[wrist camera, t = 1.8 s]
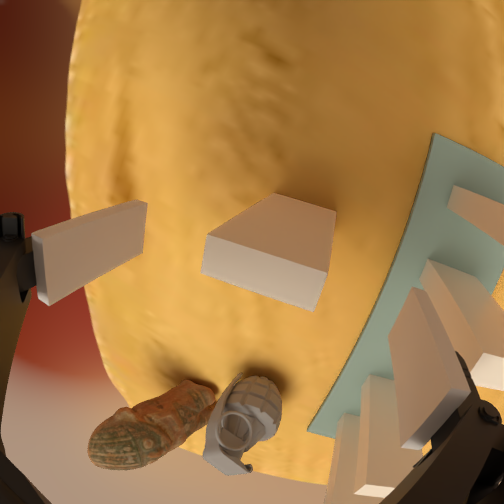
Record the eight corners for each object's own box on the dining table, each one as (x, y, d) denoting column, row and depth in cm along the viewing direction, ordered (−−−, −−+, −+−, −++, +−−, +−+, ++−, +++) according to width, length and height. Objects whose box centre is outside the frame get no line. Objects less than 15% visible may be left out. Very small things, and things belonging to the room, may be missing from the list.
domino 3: (369, 374, 25) (365, 484, 14) (413, 385, 24) (424, 489, 13) (361, 386, 26) (353, 494, 15) (404, 397, 25) (410, 499, 14)
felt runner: (432, 133, 18) (435, 133, 17) (528, 183, 16) (532, 184, 15) (307, 427, 30) (306, 431, 30) (382, 444, 28) (382, 448, 28)
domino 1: (273, 192, 23) (206, 234, 12) (336, 211, 22) (327, 273, 11) (268, 214, 24) (200, 273, 13) (329, 233, 23) (313, 312, 12)
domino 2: (344, 412, 27) (329, 511, 16) (385, 421, 26) (382, 517, 15) (337, 422, 28) (320, 517, 17) (377, 431, 27) (371, 523, 16)
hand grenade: (301, 392, 29) (276, 480, 19) (259, 408, 31) (225, 485, 21) (262, 350, 28) (221, 437, 18) (221, 369, 31) (174, 446, 21)
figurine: (224, 413, 33) (169, 510, 20) (168, 400, 36) (106, 481, 22) (212, 361, 31) (137, 469, 17) (150, 350, 33) (69, 434, 20)
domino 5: (427, 258, 20) (483, 352, 10) (475, 276, 19) (542, 367, 9) (419, 279, 21) (462, 382, 10) (466, 296, 20) (523, 394, 9)
